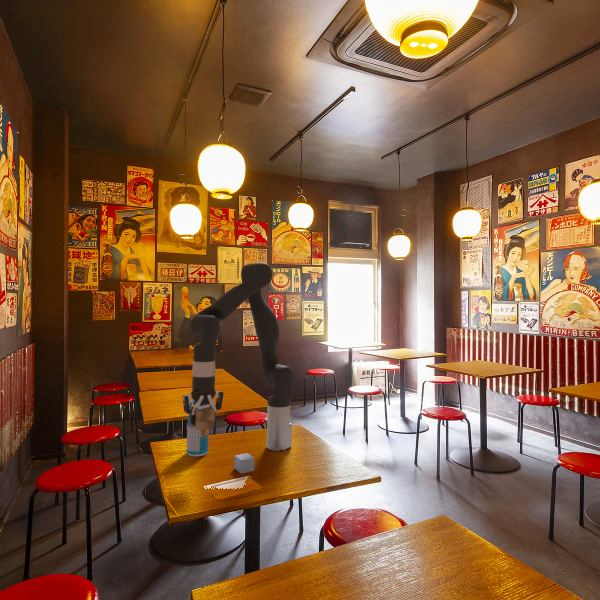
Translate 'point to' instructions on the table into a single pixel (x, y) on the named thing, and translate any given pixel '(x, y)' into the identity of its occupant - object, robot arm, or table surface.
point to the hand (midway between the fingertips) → (202, 423)
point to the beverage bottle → (196, 438)
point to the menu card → (229, 484)
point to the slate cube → (244, 463)
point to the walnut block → (204, 418)
